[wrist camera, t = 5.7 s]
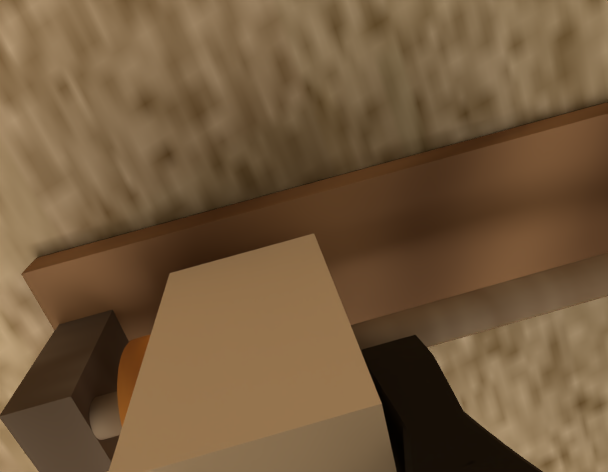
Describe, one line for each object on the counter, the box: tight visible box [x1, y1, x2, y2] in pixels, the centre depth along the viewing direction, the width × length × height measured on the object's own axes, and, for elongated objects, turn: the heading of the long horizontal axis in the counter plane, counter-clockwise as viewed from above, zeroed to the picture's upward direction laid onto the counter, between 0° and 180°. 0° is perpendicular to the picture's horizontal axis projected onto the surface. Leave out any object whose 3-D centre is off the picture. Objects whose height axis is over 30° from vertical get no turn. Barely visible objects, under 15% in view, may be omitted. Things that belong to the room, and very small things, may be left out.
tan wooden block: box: [109, 234, 397, 472], centre depth 10 cm, size 4×4×6 cm
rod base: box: [0, 102, 608, 472], centre depth 12 cm, size 24×6×6 cm, turn 103°
